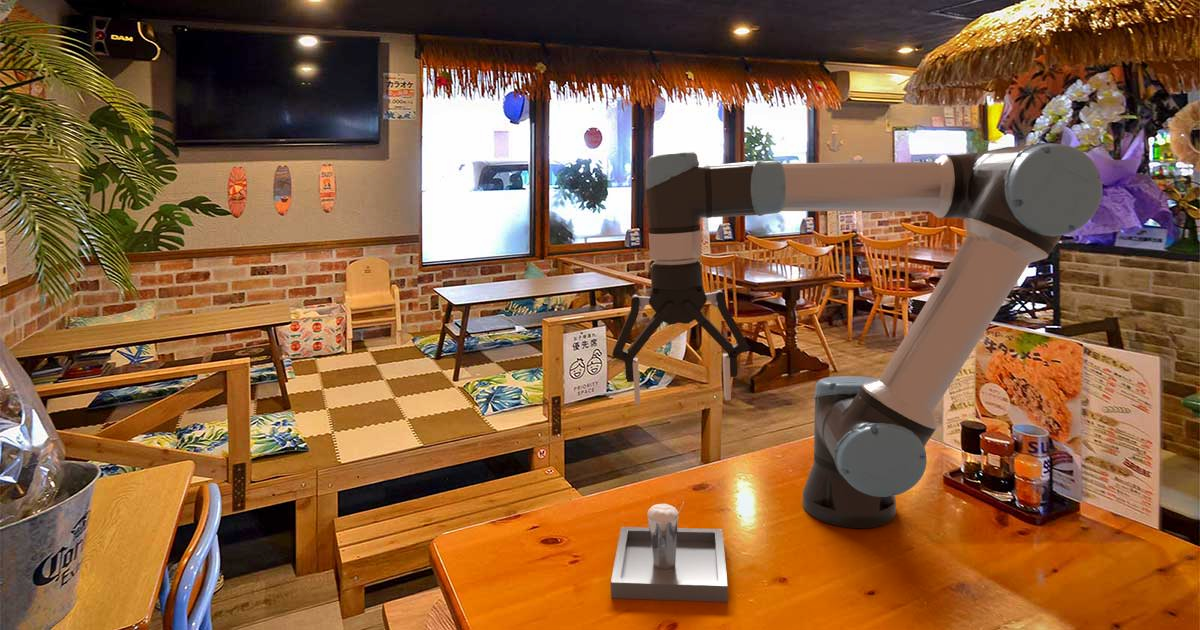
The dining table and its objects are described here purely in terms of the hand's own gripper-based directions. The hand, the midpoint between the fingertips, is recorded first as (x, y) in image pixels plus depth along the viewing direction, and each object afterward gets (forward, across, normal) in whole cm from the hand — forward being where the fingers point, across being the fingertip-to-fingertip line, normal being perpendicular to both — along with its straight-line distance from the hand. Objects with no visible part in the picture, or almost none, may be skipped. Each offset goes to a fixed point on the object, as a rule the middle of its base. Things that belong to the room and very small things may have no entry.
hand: (682, 399), depth 109 cm
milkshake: (+23, +4, +7) cm, 25 cm away
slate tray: (+24, +3, +7) cm, 25 cm away
